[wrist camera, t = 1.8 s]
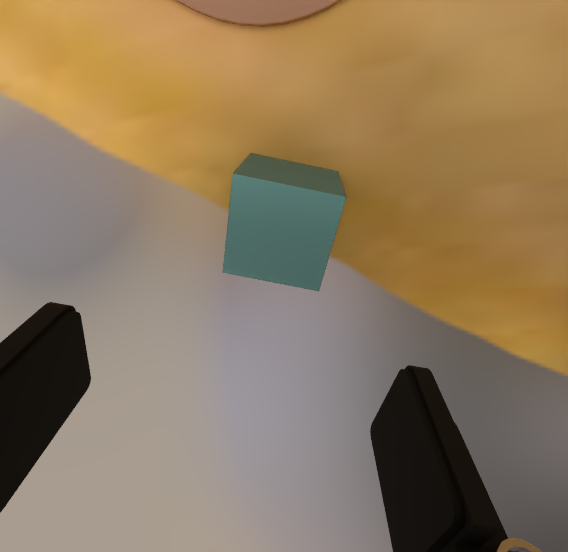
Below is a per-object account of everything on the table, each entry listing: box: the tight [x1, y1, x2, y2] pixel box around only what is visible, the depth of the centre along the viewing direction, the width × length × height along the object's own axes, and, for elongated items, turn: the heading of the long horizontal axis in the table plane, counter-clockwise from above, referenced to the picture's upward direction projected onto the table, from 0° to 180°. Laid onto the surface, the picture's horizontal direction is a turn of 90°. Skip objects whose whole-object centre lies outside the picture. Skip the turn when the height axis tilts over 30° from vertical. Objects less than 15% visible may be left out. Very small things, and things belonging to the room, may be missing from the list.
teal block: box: [223, 153, 346, 291], centre depth 21 cm, size 6×6×6 cm
